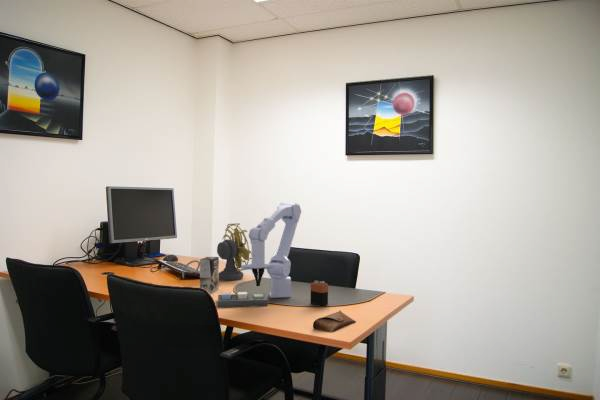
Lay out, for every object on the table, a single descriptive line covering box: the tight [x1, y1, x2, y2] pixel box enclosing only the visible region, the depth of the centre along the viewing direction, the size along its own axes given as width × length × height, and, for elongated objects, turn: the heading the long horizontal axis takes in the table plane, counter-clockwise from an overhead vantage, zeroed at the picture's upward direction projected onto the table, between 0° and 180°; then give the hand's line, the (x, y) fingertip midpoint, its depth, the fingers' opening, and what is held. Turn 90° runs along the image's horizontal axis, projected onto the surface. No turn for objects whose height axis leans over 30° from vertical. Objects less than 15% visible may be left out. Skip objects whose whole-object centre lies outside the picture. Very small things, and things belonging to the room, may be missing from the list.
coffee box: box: [199, 256, 220, 294], centre depth 235 cm, size 9×6×16 cm
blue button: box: [221, 292, 232, 299], centre depth 212 cm, size 4×4×3 cm
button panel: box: [217, 293, 269, 308], centre depth 213 cm, size 21×12×2 cm, turn 99°
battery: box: [310, 280, 329, 307], centre depth 212 cm, size 4×7×10 cm, turn 47°
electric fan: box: [181, 222, 252, 282], centre depth 262 cm, size 26×32×30 cm
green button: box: [253, 293, 263, 298], centre depth 214 cm, size 4×4×3 cm
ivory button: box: [237, 291, 248, 299], centre depth 213 cm, size 4×4×3 cm
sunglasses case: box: [312, 309, 357, 333], centre depth 181 cm, size 18×7×7 cm
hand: (258, 285), depth 213 cm, fingers closed
